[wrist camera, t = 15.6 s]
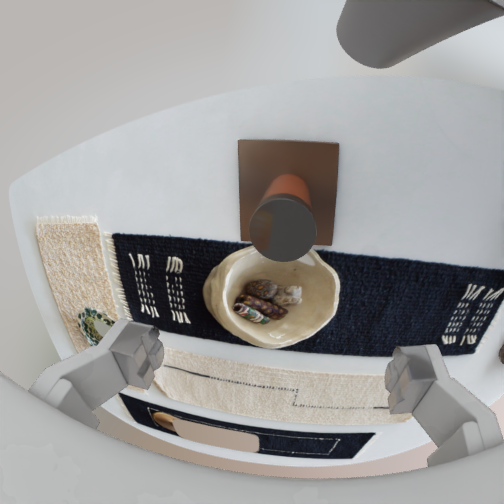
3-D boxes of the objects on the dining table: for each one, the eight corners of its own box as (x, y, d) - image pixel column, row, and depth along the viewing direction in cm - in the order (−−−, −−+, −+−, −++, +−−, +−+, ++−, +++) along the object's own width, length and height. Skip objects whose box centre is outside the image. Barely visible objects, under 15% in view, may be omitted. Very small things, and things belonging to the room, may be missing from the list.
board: (239, 139, 27) (237, 140, 26) (337, 142, 26) (339, 143, 25) (242, 237, 32) (240, 241, 31) (330, 242, 31) (331, 246, 30)
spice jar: (265, 172, 28) (247, 197, 19) (312, 174, 27) (318, 200, 18) (265, 216, 30) (249, 260, 21) (309, 218, 29) (313, 263, 20)
